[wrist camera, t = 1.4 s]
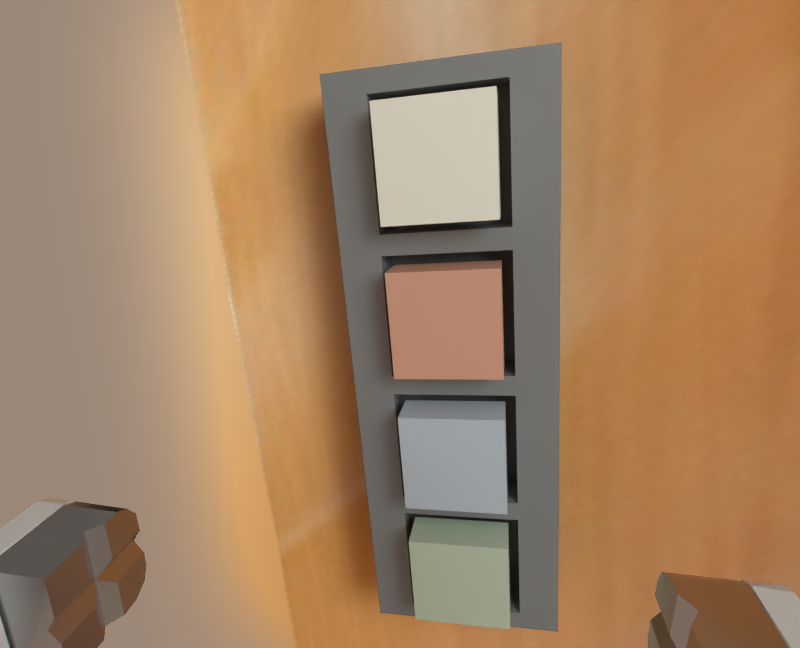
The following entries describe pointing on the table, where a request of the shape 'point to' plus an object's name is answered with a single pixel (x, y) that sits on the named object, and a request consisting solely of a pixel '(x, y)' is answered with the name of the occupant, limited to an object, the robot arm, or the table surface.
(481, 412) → the light grey key
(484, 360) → the terracotta key
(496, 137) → the cream key
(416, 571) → the sage key
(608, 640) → the table surface
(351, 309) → the keypad
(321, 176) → the table surface
